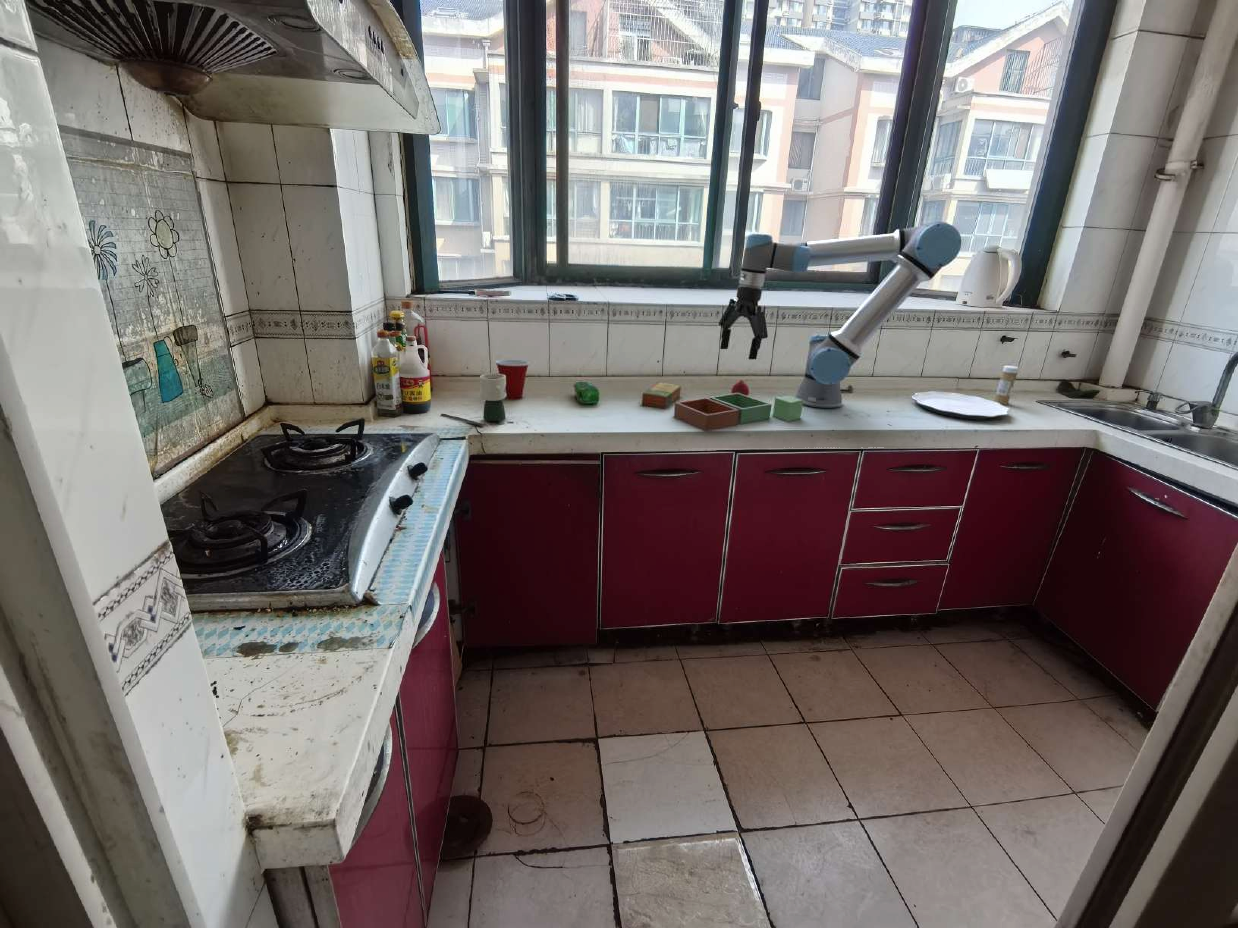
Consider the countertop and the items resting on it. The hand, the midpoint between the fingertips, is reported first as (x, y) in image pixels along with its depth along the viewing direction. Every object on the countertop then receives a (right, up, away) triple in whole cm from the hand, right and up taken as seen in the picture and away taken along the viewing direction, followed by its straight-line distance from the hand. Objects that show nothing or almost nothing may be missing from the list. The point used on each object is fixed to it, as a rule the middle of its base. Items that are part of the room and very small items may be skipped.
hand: (737, 354), depth 192 cm
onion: (+2, -15, +7) cm, 17 cm away
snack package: (-49, -15, +3) cm, 52 cm away
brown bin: (-12, -23, -13) cm, 29 cm away
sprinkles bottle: (+100, -14, +22) cm, 103 cm away
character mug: (-75, -23, -21) cm, 81 cm away
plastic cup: (-73, -14, +2) cm, 75 cm away
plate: (+78, -17, +12) cm, 81 cm away
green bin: (-1, -20, -6) cm, 21 cm away
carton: (-24, -15, +5) cm, 29 cm away
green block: (+14, -21, -6) cm, 26 cm away
